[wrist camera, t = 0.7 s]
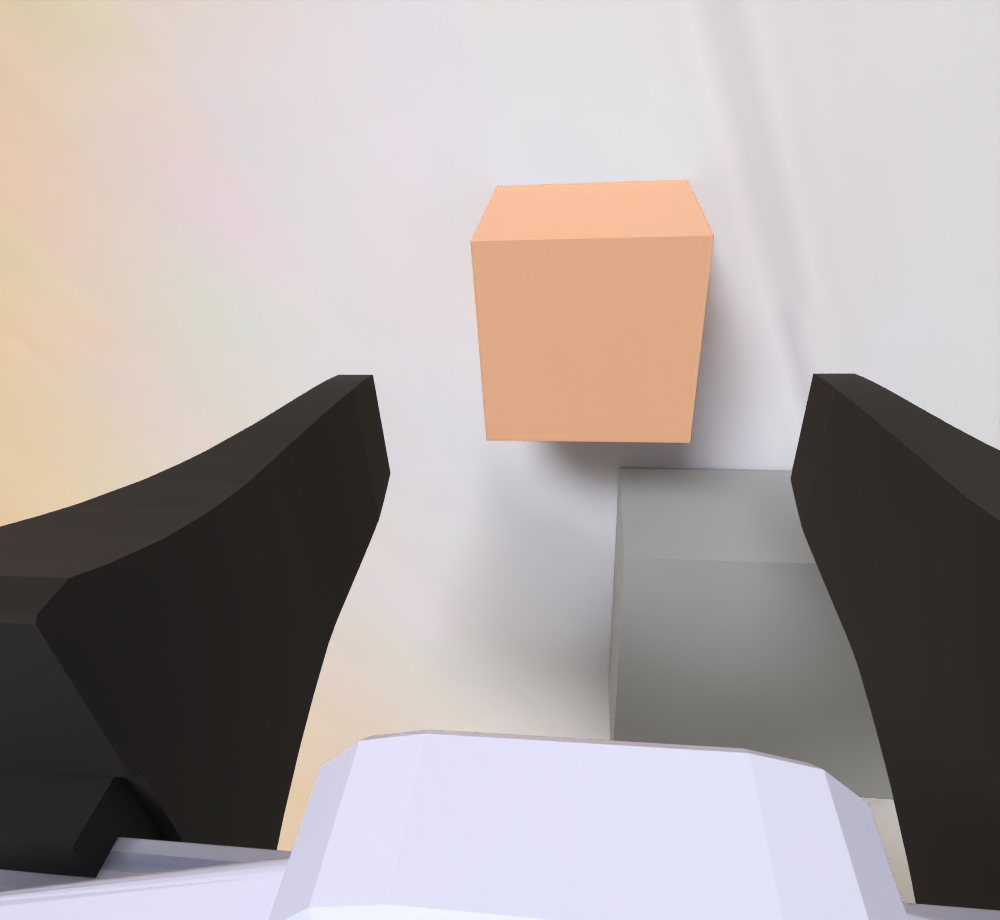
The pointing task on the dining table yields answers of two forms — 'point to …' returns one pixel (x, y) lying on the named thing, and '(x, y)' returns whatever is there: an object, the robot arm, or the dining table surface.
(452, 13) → the dining table surface
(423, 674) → the dining table surface
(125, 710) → the robot arm
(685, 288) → the peach block
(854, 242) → the dining table surface
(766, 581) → the base block
